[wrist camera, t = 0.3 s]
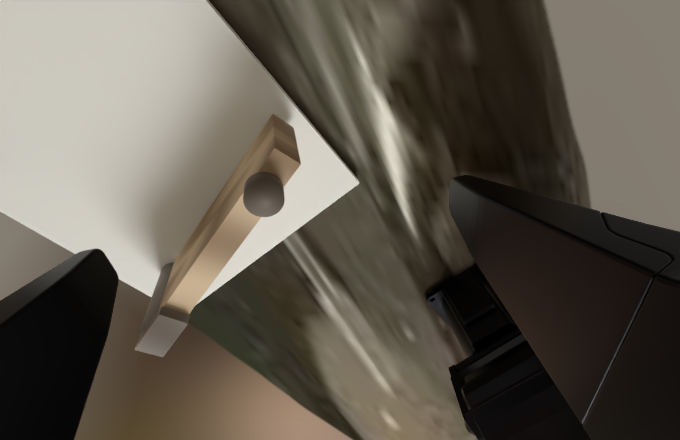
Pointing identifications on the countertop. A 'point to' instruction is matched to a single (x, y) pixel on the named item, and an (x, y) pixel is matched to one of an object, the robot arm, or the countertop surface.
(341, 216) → the countertop surface
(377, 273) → the countertop surface
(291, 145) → the gate
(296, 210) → the white flat posted base
